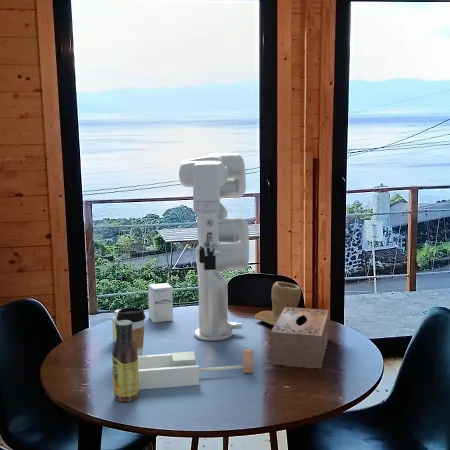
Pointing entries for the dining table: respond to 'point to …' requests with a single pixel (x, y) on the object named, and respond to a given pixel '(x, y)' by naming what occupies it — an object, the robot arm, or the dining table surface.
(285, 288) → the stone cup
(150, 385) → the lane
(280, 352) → the tissue box cover
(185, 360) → the sliding handle
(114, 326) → the supplement bottle
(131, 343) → the sauce bottle
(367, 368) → the dining table surface
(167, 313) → the supplement box
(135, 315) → the coffee cup
